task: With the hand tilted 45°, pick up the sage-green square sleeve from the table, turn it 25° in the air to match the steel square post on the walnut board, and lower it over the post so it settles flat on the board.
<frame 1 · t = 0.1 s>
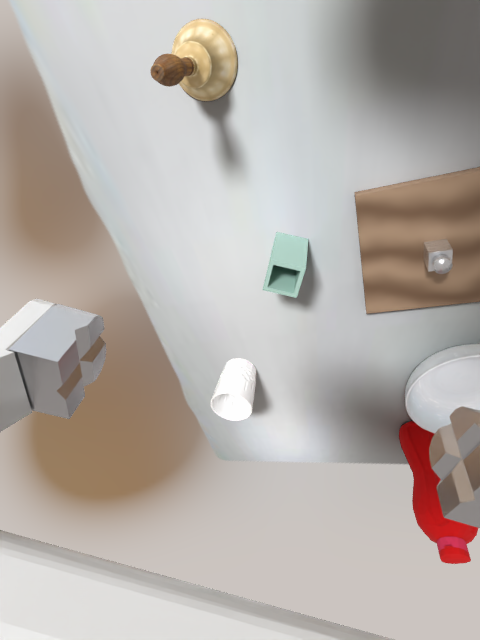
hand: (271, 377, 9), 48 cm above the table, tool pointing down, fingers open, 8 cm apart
sleeve: (288, 249, 59), on the table
board: (432, 245, 55), on the table
white cup: (240, 368, 78), on the table
hand bell: (205, 62, 46), on the table
post: (438, 257, 52), on the board, point 4 cm above the table
water bottle: (425, 431, 79), on the table
serving bowl: (460, 371, 68), on the table
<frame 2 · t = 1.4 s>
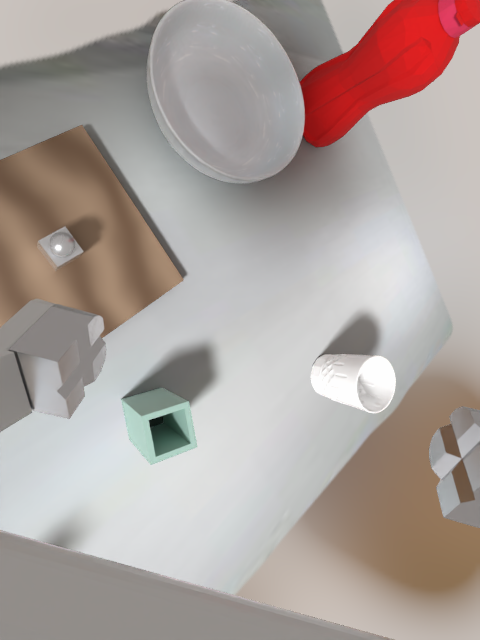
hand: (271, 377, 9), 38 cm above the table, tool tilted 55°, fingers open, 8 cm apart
sleeve: (145, 412, 46), on the table
board: (57, 253, 41), on the table
white cup: (325, 374, 60), on the table
post: (60, 247, 37), on the board, point 4 cm above the table
water bottle: (312, 113, 59), on the table
serving bowl: (211, 118, 50), on the table
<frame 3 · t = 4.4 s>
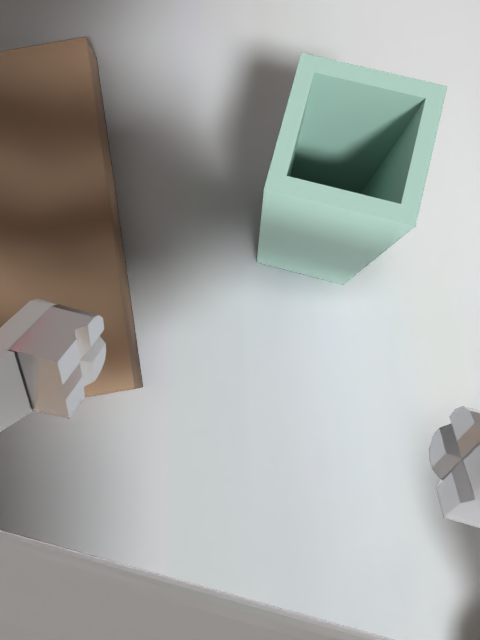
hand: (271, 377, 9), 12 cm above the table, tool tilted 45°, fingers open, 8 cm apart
sleeve: (310, 231, 21), on the table
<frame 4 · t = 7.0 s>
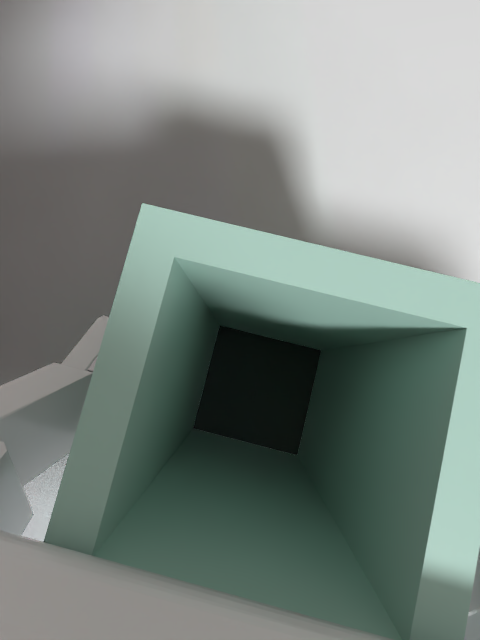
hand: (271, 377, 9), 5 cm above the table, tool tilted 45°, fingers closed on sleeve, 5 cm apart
sleeve: (257, 388, 13), on the table, touching gripper
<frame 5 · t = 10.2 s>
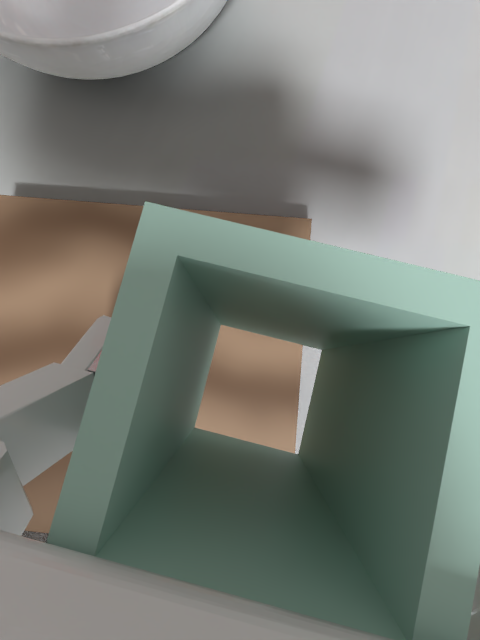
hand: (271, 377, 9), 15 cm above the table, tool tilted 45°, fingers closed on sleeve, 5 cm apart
sleeve: (258, 388, 13), point 10 cm above the table, touching gripper
board: (141, 365, 24), on the table
when the fingers open (8 cm above the table, at t = 13.4 s): sleeve drops 1 cm, resting on board.
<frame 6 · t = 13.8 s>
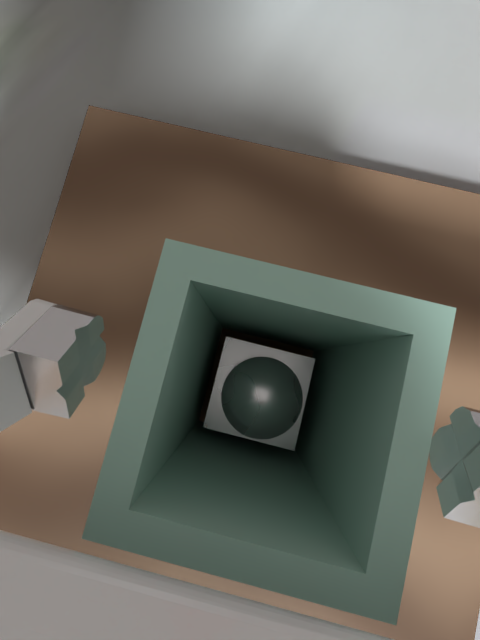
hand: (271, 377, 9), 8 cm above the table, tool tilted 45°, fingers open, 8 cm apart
sleeve: (256, 385, 15), point 1 cm above the table, touching board
board: (255, 383, 16), on the table
post: (258, 390, 13), on the board, point 4 cm above the table
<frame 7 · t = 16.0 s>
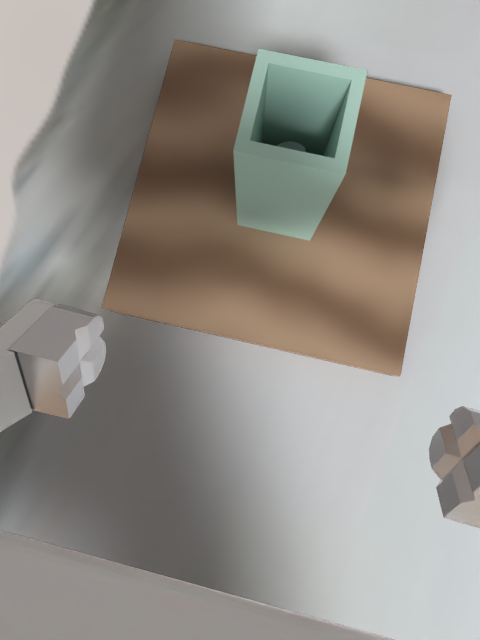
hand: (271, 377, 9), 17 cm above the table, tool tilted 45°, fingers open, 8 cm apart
sleeve: (281, 198, 26), point 1 cm above the table, touching board
board: (279, 207, 27), on the table
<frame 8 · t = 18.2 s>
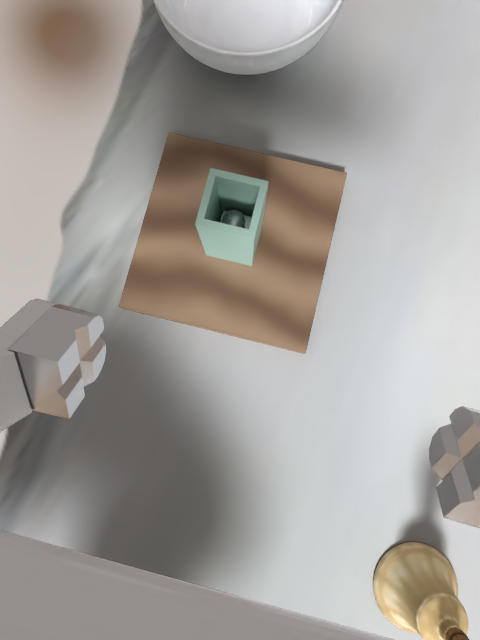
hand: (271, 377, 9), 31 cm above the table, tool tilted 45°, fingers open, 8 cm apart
sleeve: (234, 238, 40), point 1 cm above the table, touching board
board: (235, 243, 41), on the table
hand bell: (413, 584, 37), on the table
post: (234, 230, 37), on the board, point 4 cm above the table
serving bowl: (247, 22, 45), on the table
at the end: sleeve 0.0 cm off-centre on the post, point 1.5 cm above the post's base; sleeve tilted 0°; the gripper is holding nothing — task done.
